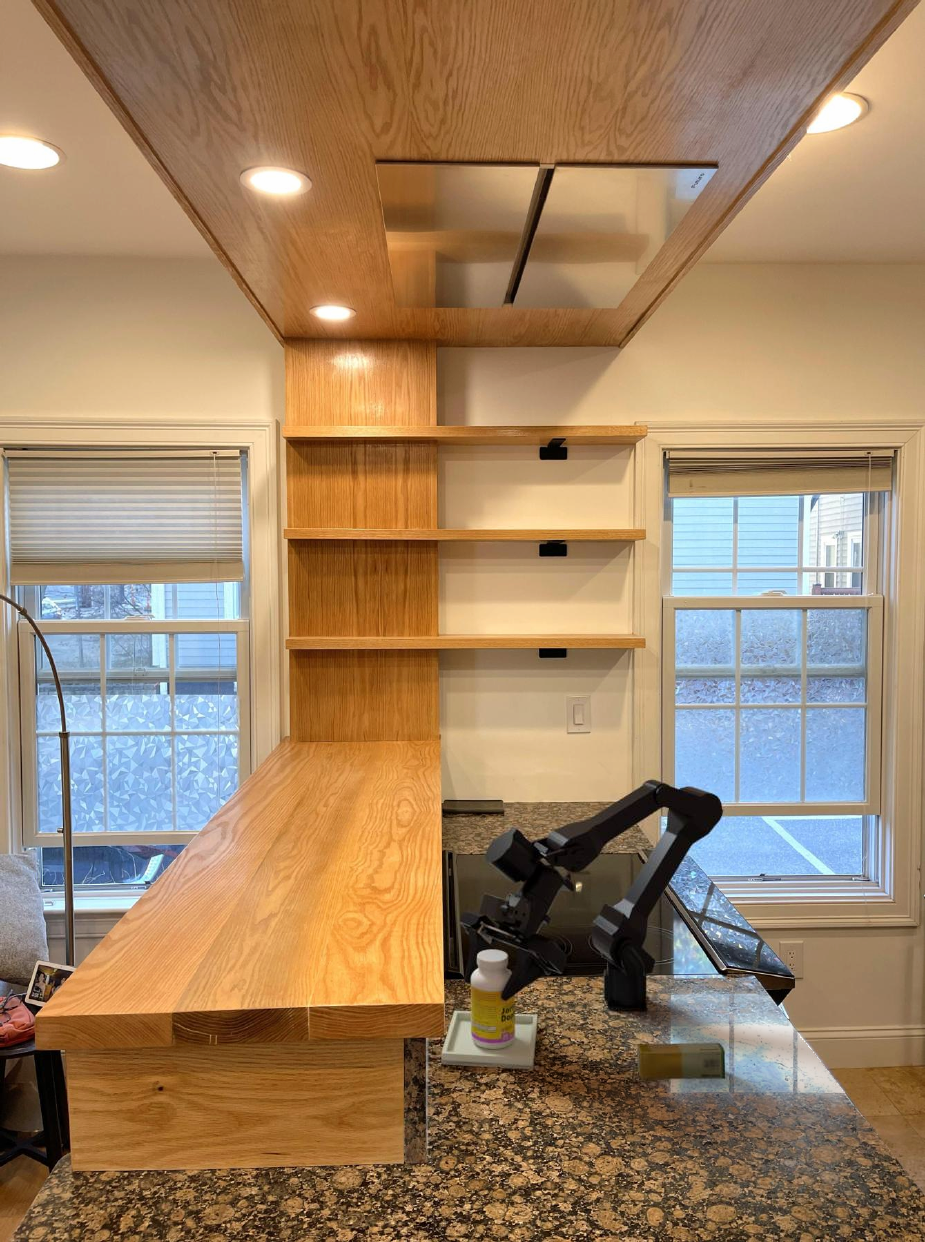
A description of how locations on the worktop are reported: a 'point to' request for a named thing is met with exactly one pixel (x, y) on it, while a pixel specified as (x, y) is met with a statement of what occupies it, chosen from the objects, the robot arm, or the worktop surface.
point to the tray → (469, 1054)
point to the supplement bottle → (491, 1002)
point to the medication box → (681, 1061)
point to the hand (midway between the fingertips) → (484, 990)
